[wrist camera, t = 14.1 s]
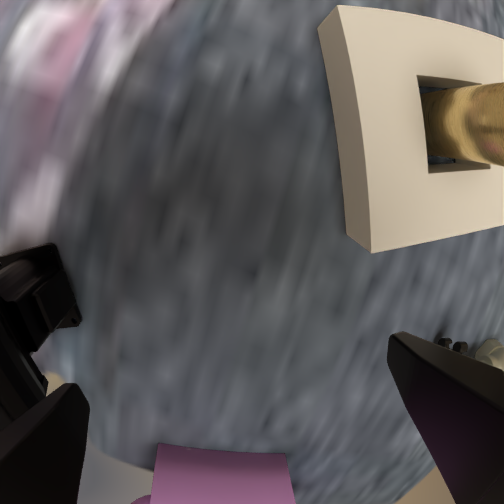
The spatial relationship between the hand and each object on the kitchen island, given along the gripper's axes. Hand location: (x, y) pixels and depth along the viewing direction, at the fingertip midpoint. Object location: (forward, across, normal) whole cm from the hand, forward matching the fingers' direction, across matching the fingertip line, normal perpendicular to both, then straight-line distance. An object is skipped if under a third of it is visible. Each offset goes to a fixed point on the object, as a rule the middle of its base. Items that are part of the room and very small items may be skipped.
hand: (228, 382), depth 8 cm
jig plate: (+13, -15, -6) cm, 21 cm away
